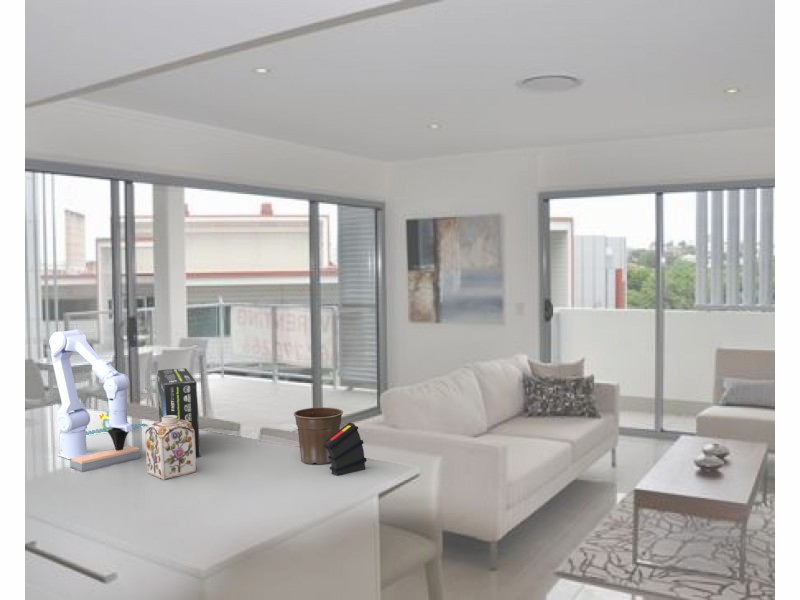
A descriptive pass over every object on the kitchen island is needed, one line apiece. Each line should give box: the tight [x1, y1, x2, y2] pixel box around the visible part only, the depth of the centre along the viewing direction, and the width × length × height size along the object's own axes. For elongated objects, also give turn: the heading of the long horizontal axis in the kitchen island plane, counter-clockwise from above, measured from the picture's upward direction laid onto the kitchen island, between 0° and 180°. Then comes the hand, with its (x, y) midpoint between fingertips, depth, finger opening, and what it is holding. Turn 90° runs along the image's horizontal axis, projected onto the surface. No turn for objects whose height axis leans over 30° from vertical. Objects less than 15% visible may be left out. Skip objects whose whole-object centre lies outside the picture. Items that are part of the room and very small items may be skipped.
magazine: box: [324, 422, 367, 476], centre depth 218 cm, size 4×13×15 cm, turn 127°
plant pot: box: [293, 406, 344, 465], centre depth 233 cm, size 16×16×16 cm
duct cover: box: [70, 445, 140, 464], centre depth 235 cm, size 7×20×1 cm, turn 139°
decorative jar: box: [144, 415, 197, 481], centre depth 222 cm, size 12×12×18 cm
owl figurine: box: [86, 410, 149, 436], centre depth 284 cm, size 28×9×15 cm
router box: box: [156, 368, 201, 458], centre depth 253 cm, size 36×11×27 cm, turn 23°
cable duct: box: [69, 451, 141, 473], centre depth 236 cm, size 8×20×2 cm, turn 139°
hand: (119, 449), depth 240 cm, fingers closed
